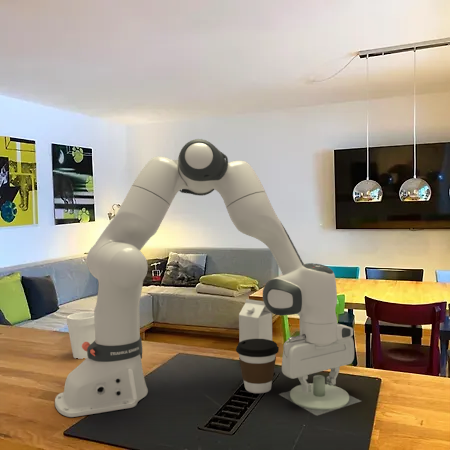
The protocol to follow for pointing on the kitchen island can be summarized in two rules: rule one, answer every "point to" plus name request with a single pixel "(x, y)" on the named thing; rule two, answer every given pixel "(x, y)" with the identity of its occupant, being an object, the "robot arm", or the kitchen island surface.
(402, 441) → the kitchen island surface
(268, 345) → the coffee cup
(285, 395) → the mat
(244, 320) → the milk carton
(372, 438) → the kitchen island surface
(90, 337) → the foam cup
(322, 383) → the lid
